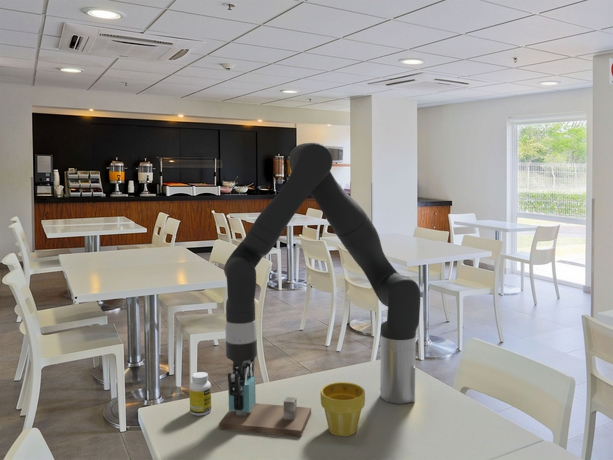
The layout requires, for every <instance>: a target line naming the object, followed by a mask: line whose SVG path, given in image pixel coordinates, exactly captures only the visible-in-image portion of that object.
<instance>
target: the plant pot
mask: <svg viewBox="0 0 613 460" xmlns="http://www.w3.org/2000/svg"><path fill="white" fill-rule="evenodd" d="M365 402H366V391H365V389H364V388H363V387H362V386H361V385H358V384H356V383H353V382H348V381H347V382H346V381H341V382H339V381H338V382H333V383H332V382H331V383H329V384H326V385H324V386H322V387H321V389H320V405H321V407H322V408H323V409H324V414H325V418H326V422H327V426H328V431H329V432H330V433H331V434H332V435H335V436H336V437H337V436H338V437H348V436H352V435H354V434H355V433H356V432H357V430H358V428H359V423H360V418H361V413H362V409H364V407H365Z"/></svg>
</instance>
